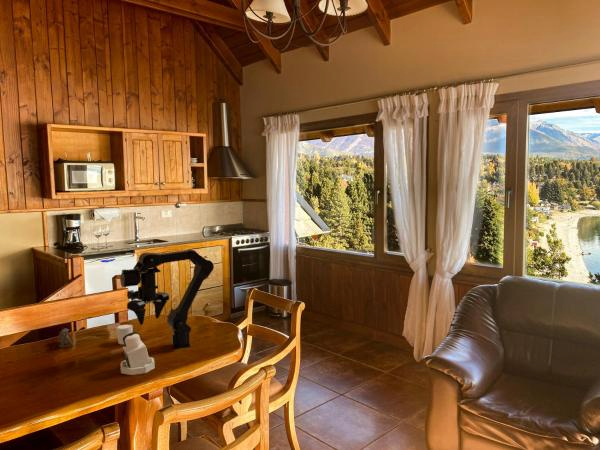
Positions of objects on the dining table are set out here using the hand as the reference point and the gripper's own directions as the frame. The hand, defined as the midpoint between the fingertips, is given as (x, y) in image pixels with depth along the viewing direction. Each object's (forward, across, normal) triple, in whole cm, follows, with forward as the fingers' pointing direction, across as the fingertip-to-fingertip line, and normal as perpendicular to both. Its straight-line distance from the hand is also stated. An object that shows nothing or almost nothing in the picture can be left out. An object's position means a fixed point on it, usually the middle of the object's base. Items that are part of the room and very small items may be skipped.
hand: (149, 321), depth 188 cm
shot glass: (+13, -5, -19) cm, 23 cm away
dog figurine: (+13, +7, -40) cm, 43 cm away
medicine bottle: (+12, +14, +7) cm, 20 cm away
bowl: (+13, +15, +7) cm, 21 cm away
